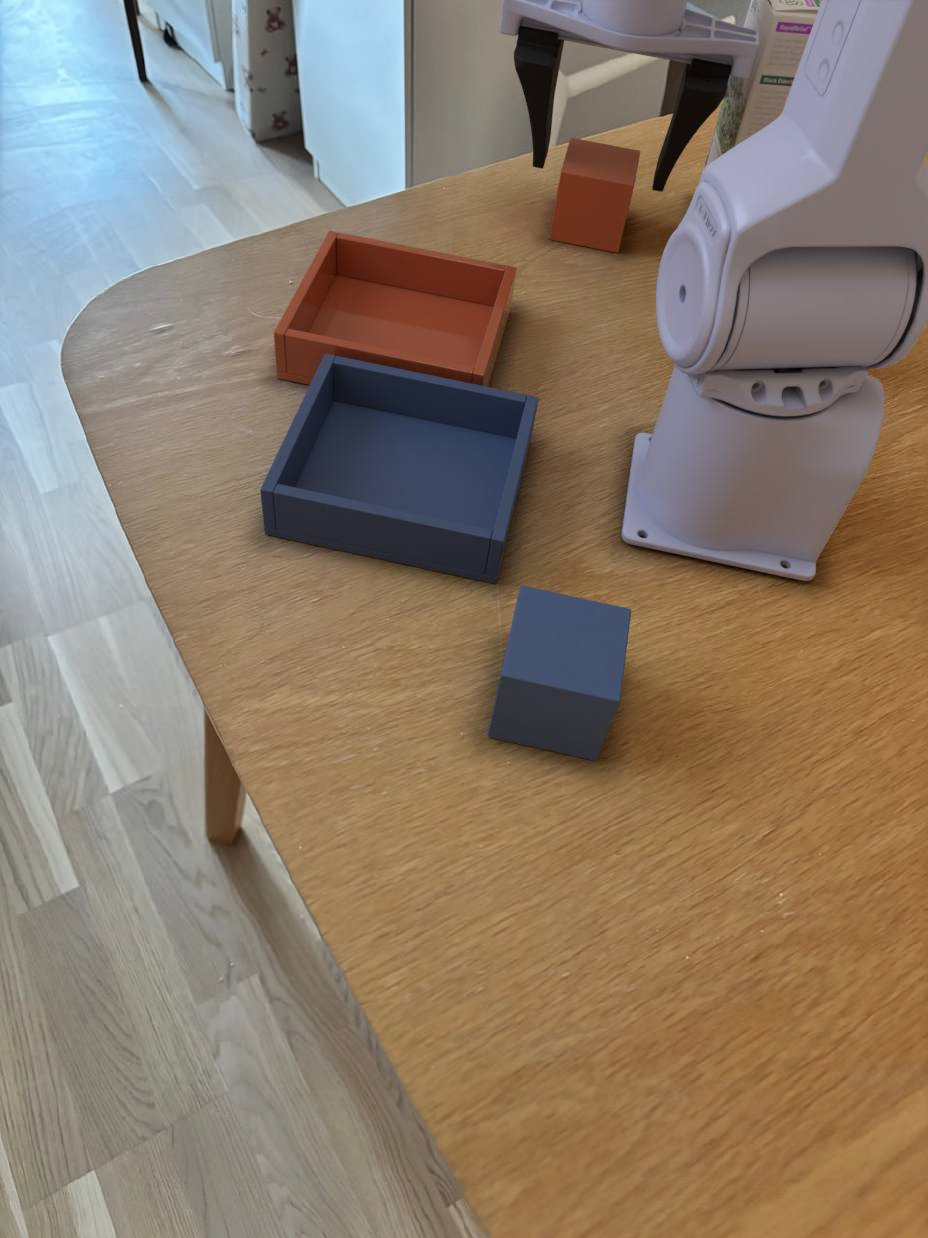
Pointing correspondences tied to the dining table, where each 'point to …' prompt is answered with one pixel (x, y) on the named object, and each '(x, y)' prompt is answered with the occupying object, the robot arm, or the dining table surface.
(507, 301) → the terracotta bin
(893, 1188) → the dining table surface
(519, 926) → the dining table surface
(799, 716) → the dining table surface
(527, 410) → the blue bin
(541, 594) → the blue block
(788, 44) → the syrup box
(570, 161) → the terracotta block
